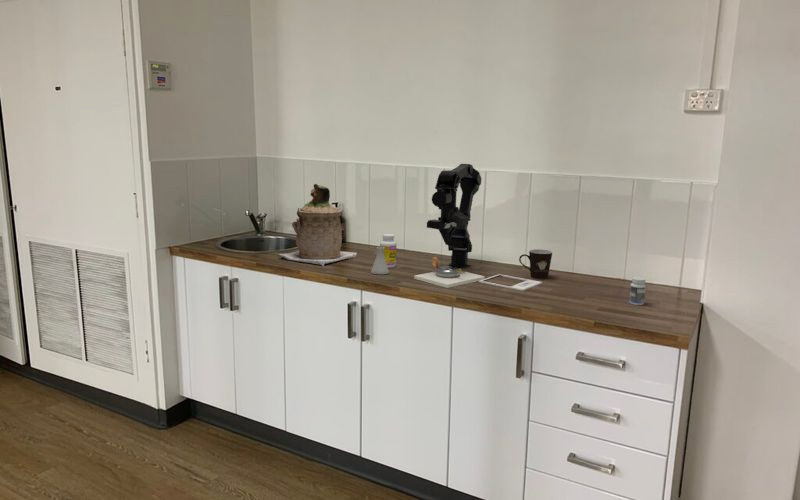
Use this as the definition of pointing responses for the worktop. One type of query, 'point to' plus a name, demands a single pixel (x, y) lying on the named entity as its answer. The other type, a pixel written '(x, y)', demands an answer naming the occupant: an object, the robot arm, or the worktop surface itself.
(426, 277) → the stand
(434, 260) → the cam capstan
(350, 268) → the worktop surface
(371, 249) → the worktop surface
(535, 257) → the coffee mug
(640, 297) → the pill bottle
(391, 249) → the supplement bottle
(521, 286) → the photo frame
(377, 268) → the flask
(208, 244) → the worktop surface
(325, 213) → the cookie jar
